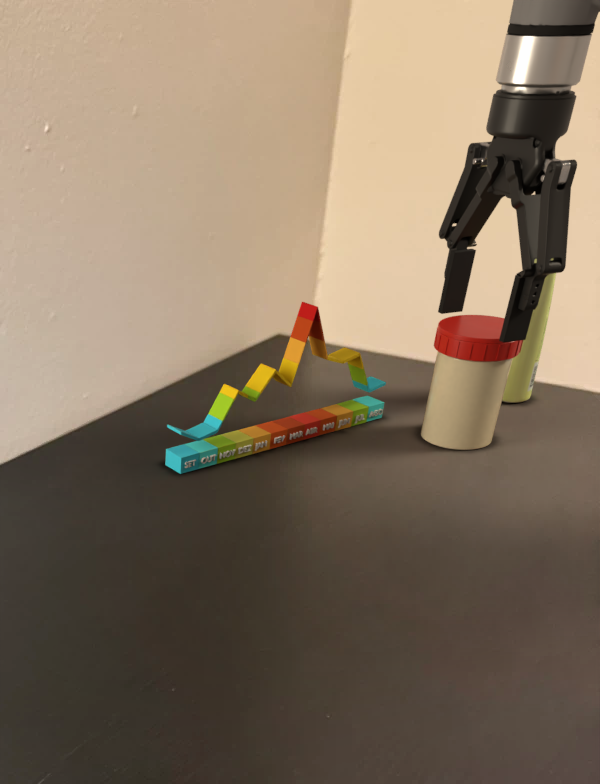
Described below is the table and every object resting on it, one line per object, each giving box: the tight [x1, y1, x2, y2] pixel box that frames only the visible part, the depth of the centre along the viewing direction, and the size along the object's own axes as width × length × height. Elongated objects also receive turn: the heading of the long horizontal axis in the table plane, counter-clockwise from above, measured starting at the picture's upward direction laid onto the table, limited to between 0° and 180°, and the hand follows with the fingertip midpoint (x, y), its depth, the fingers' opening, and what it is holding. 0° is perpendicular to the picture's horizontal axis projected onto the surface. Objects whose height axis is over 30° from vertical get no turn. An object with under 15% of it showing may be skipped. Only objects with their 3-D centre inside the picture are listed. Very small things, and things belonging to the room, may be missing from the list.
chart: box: [164, 301, 387, 475], centre depth 112 cm, size 30×3×15 cm, turn 120°
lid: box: [433, 314, 523, 362], centre depth 109 cm, size 9×9×2 cm
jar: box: [420, 351, 513, 451], centre depth 112 cm, size 8×8×12 cm
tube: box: [502, 258, 557, 404], centre depth 120 cm, size 6×5×20 cm
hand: (479, 325), depth 108 cm, fingers open, 10 cm apart
